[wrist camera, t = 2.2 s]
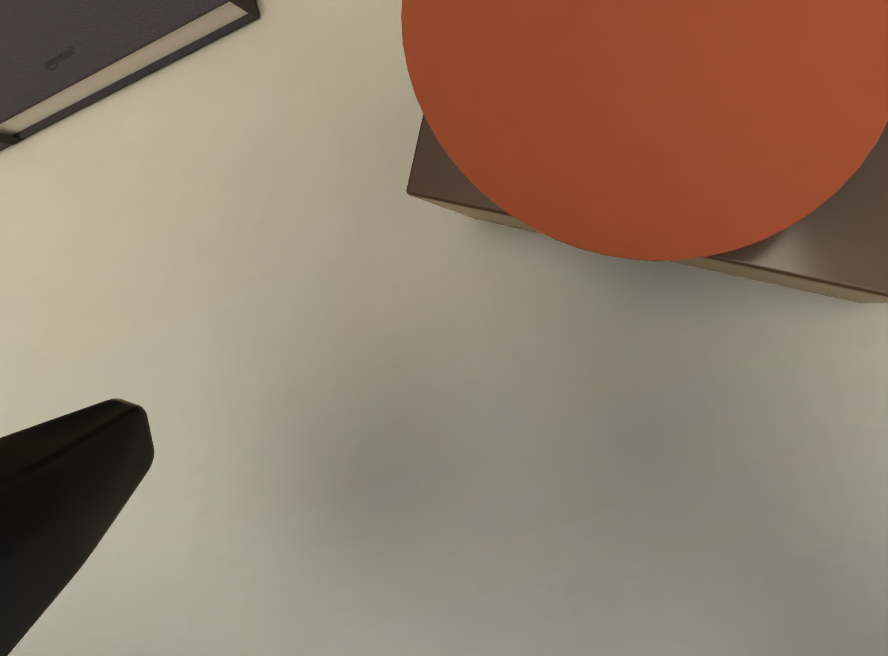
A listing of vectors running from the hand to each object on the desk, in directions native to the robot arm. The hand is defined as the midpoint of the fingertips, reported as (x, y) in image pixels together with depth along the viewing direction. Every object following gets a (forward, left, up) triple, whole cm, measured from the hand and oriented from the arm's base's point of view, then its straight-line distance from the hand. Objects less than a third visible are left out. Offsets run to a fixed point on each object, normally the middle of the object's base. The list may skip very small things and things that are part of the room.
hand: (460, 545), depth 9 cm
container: (+10, 0, -11) cm, 15 cm away
